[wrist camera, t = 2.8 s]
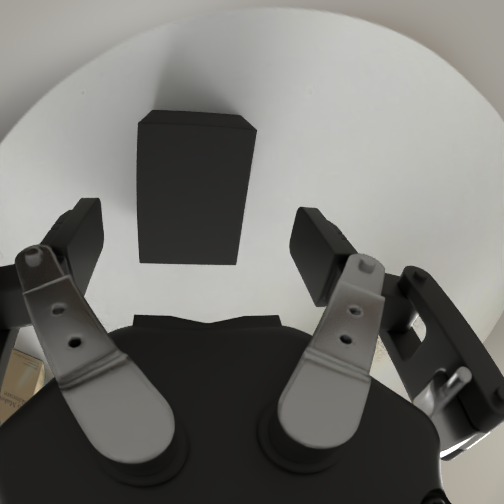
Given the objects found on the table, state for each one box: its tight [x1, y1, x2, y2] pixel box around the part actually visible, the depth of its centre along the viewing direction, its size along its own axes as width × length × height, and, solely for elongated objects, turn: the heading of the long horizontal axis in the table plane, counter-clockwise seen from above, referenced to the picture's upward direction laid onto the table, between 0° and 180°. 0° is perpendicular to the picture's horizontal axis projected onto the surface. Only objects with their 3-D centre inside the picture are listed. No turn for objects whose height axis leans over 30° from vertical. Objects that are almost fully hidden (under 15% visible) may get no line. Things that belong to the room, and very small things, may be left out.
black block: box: [137, 110, 257, 265], centre depth 15 cm, size 5×7×4 cm
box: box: [0, 349, 45, 425], centre depth 19 cm, size 5×4×11 cm
